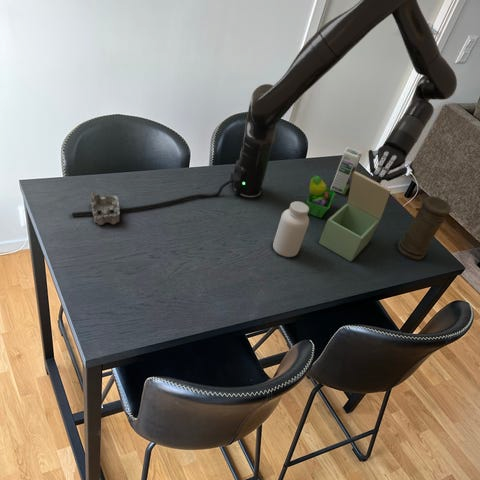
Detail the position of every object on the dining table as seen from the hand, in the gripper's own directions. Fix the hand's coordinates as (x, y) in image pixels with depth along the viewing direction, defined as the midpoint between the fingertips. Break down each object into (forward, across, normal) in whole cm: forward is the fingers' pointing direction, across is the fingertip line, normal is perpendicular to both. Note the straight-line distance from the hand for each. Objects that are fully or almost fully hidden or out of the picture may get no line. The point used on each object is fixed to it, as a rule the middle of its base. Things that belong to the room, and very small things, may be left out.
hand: (370, 188), depth 134 cm
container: (+5, +18, +21) cm, 28 cm away
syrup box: (-4, -16, +31) cm, 35 cm away
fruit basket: (+9, -16, +18) cm, 25 cm away
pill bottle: (+28, -12, -1) cm, 30 cm away
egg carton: (+47, -57, -21) cm, 77 cm away
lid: (+2, 0, +3) cm, 3 cm away
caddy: (+15, 0, +11) cm, 19 cm away
